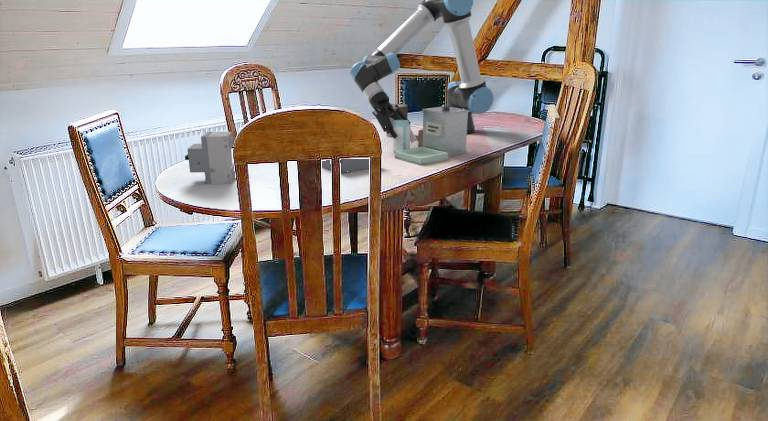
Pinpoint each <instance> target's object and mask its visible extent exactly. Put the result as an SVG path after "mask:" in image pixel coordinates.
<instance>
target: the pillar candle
mask: <svg viewBox="0 0 768 421" xmlns="http://www.w3.org/2000/svg"><path fill="white" fill-rule="evenodd" d="M391 104H392V106H395V105H398V107H399V109H400V110H401V111H402V113H403V114H404V115H405V116H406V118H407V119H408V104H405V103H398V102H397V101H396V103H391ZM393 113H394V112H393ZM390 120H391V123H392V125H393V123H394V121H395V120H394V119H393V118H390ZM386 132H387V131H386ZM386 132H385V135H386V137H390V138H392V136H391V134H390V133H389V134H387V133H386Z"/></svg>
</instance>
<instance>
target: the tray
mask: <svg viewBox="0 0 768 421" xmlns="http://www.w3.org/2000/svg"><path fill="white" fill-rule="evenodd" d="M394 158H395V159H397V160H401V161H403V162H404V161H405V162H408V163H412V164H415V165H418V166H424V165H427V164H432V163H438V162H442V161H447V160H449V157H448V153H447V152H443V151H438V150H434V149H430V148H426V147H418V146H417V147H413V148H410V149H406V150H401V151H395V152H394Z"/></svg>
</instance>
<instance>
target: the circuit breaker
mask: <svg viewBox="0 0 768 421" xmlns="http://www.w3.org/2000/svg"><path fill="white" fill-rule="evenodd" d="M232 132H233V131H206V132H205V133H204V134H203V135H200V141H201V143H193V144H192V145H190V146H189V147H188V148H187V154H186V155H184V160H185V161H188V165H189V166H188V167H189V173H192V174H193V173H204V176H205V179H204V180H205V184H207V185H213V184H214V185H217V184H222V185H224V184H233V183H234V182H235V180H236V179H235V171H234V164H233V163H234V162H233V157H232V156H233V155H232V149H233V148H232V147H233V146H234V145H233V143H234V137H233V133H232Z"/></svg>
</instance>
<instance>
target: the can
mask: <svg viewBox="0 0 768 421" xmlns="http://www.w3.org/2000/svg"><path fill="white" fill-rule="evenodd" d="M408 120H409V119H408ZM408 120H395V121H394V123H393V125H392V126H393V129H394V128H395V129H396V130H397V131H398V133H399V134H400V136H401V137H402V139H403V140H404V143H403V144H402V145H401V146H399V145H398V144H397V142H396V141H395V139H394V138H393V137H391V150H392V151H393V152H394V153H395V151H401V150H406V149H411V141H410V129H411V123H410V124H409V121H410V120H409V121H408Z"/></svg>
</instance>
